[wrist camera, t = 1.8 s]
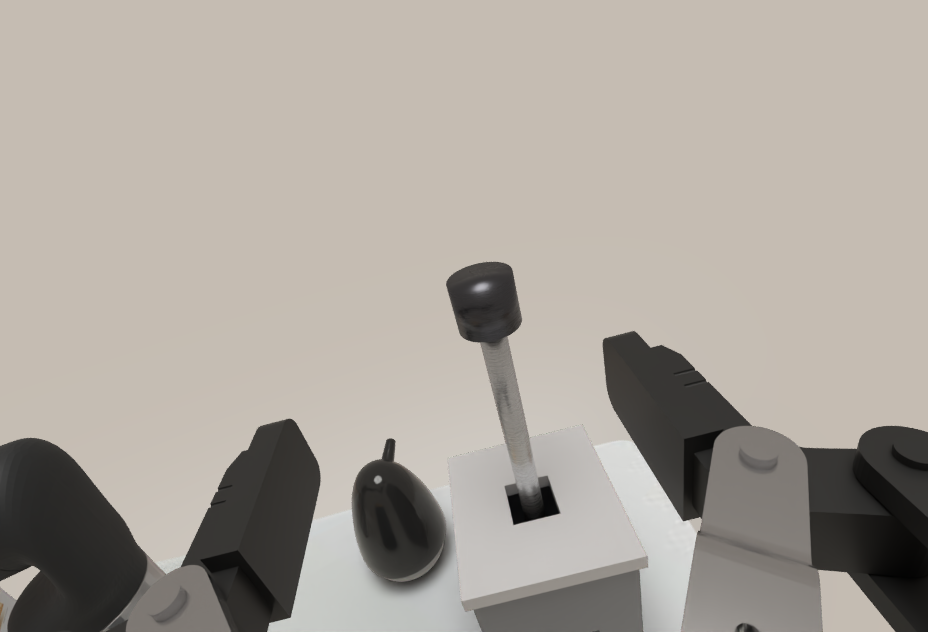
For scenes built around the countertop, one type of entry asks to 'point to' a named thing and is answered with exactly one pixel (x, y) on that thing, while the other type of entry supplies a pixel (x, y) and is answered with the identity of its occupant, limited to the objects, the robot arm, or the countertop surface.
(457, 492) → the press
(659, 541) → the countertop surface
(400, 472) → the black egg-shaped dispenser
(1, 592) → the cracker box
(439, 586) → the countertop surface
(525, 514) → the plunger
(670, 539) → the countertop surface
